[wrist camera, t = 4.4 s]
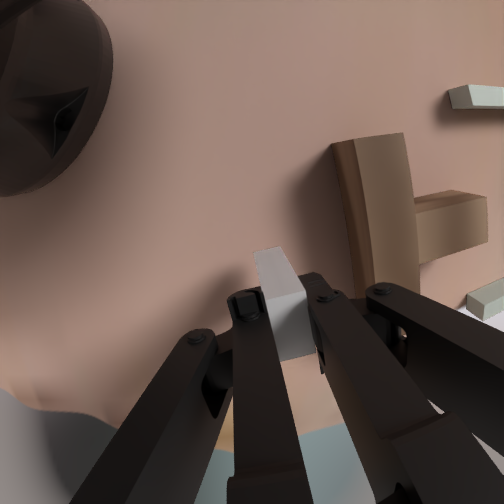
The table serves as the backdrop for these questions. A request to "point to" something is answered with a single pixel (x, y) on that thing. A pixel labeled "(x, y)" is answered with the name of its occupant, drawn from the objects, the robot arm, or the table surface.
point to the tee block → (399, 214)
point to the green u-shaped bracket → (481, 97)
